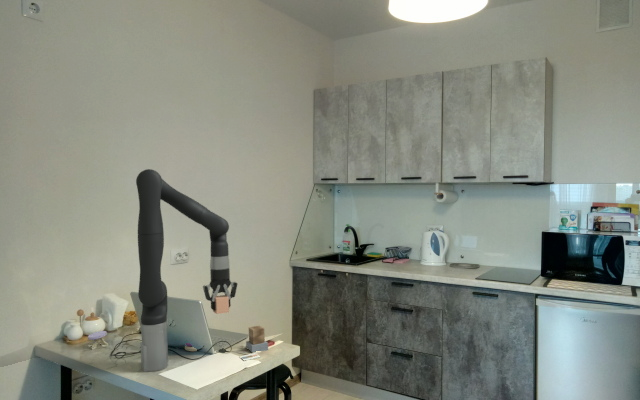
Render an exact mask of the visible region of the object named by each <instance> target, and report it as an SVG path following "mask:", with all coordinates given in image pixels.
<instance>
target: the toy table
mask: <svg viewBox="0 0 640 400" xmlns="http://www.w3.org/2000/svg"><path fill="white" fill-rule="evenodd" d="M107 334H108V333H107V331H106V330H99V331H95V332H92V333H91V334H89V335H87V339H88V340H90V342H89V343H88V344H87V346H88V345H92V347H90V349H91V348H94V347H96V348H97V346H98V344H99V343H101V345H100V346H102V345H108V346H109V343H108V342H107V341H105V339H104V337H106V336H107Z"/></svg>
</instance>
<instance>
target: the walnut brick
mask: <svg viewBox="0 0 640 400" xmlns="http://www.w3.org/2000/svg"><path fill="white" fill-rule="evenodd" d="M265 336H266V335H265V328H264V327H263V326H261V325H255V326H250V327H248V341H249V342H250V343H251V344H253V345H256V344H261V343H265V341H266V340H265V339H266V338H265Z"/></svg>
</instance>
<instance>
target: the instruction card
mask: <svg viewBox="0 0 640 400" xmlns="http://www.w3.org/2000/svg"><path fill="white" fill-rule="evenodd" d="M239 358H240V359H241V358H242V359H243V360H244V361H243V360H242V359H241V360H242V361H243V362H245V360H246V361H251V360H255V359H258V358H261V356H260V355H259V354H257V353H250V354H245V355H241V356H239Z"/></svg>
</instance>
